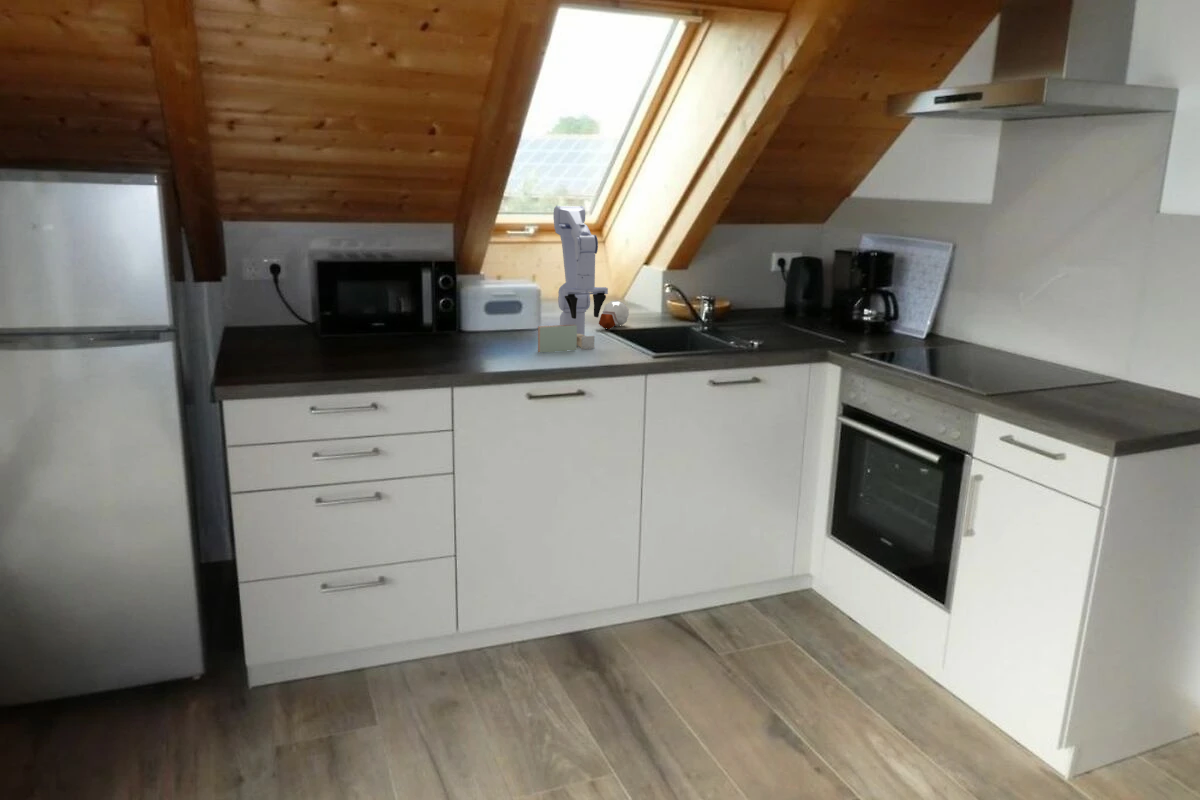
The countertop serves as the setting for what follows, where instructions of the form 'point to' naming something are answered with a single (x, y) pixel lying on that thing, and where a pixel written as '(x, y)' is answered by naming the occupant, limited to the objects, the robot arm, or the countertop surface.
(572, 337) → the tile
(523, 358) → the countertop surface
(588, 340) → the capped square post
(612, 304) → the potion bottle
